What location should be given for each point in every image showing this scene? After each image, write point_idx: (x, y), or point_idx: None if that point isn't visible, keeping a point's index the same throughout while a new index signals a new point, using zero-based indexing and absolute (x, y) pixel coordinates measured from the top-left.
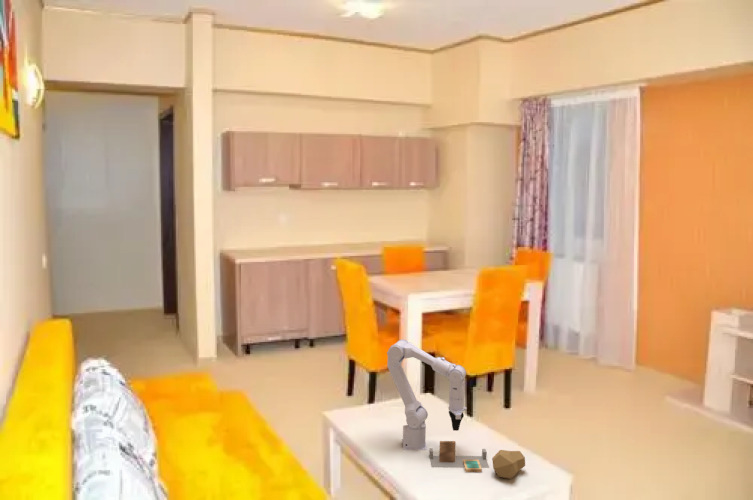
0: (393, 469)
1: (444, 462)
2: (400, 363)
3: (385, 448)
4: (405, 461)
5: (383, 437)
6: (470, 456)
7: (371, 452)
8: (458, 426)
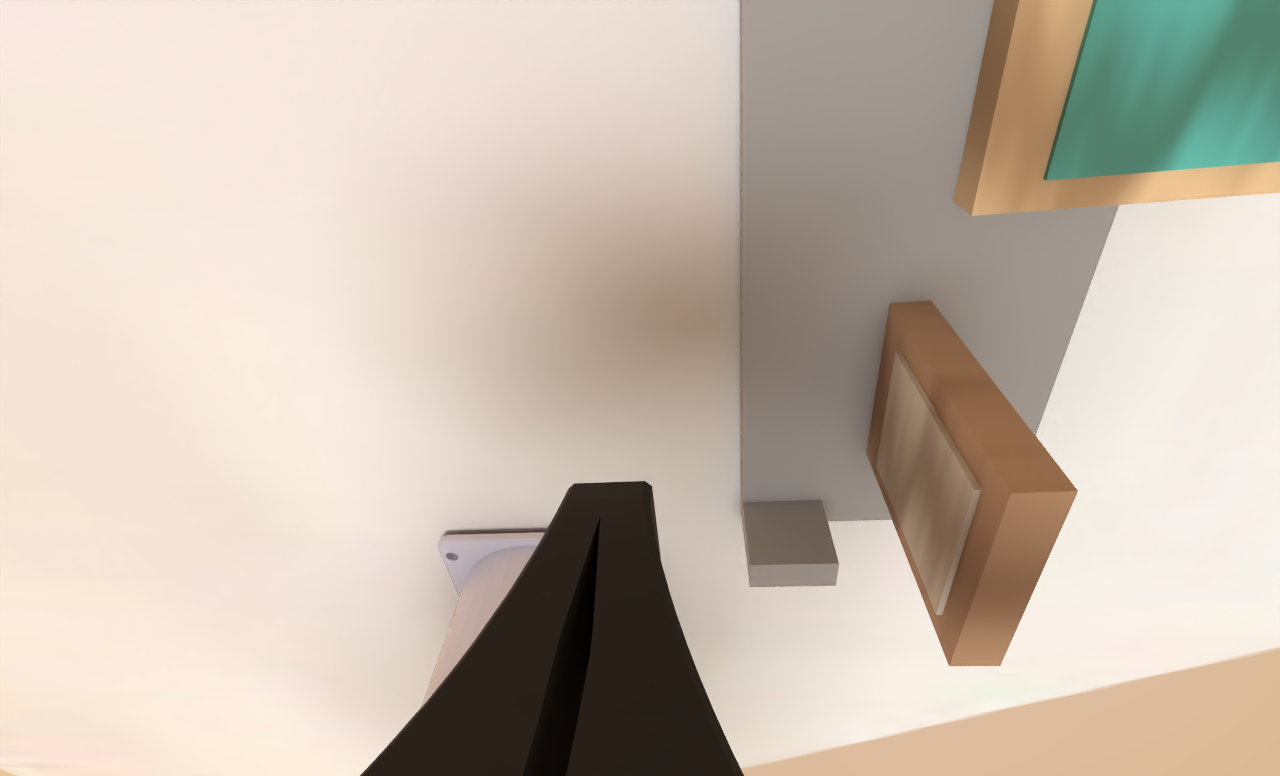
0: (953, 697)
1: None
2: None
3: None
4: (829, 646)
5: None
6: (762, 68)
7: None
8: (659, 571)
